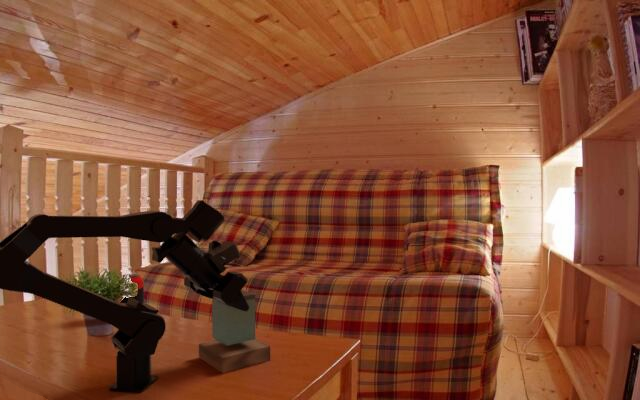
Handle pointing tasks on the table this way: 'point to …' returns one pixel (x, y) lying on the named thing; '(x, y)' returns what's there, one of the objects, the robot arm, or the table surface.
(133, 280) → the soda can
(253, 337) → the tea tin
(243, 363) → the walnut block
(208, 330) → the table surface
